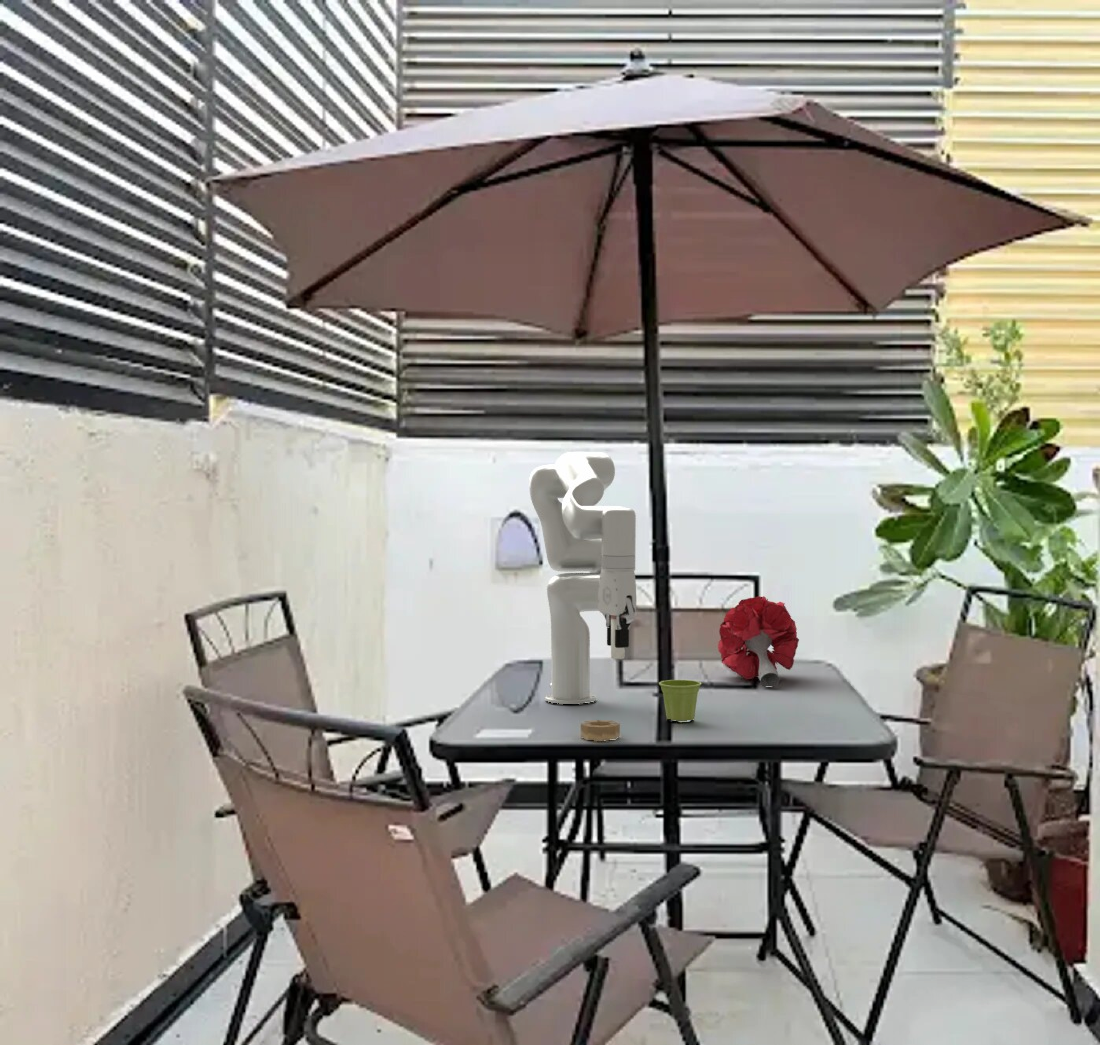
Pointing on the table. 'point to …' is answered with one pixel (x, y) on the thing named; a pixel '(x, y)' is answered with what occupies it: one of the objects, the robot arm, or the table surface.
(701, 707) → the table surface
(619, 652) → the pink-tipped cream rod
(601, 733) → the bead
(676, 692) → the plant pot
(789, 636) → the bouquet
